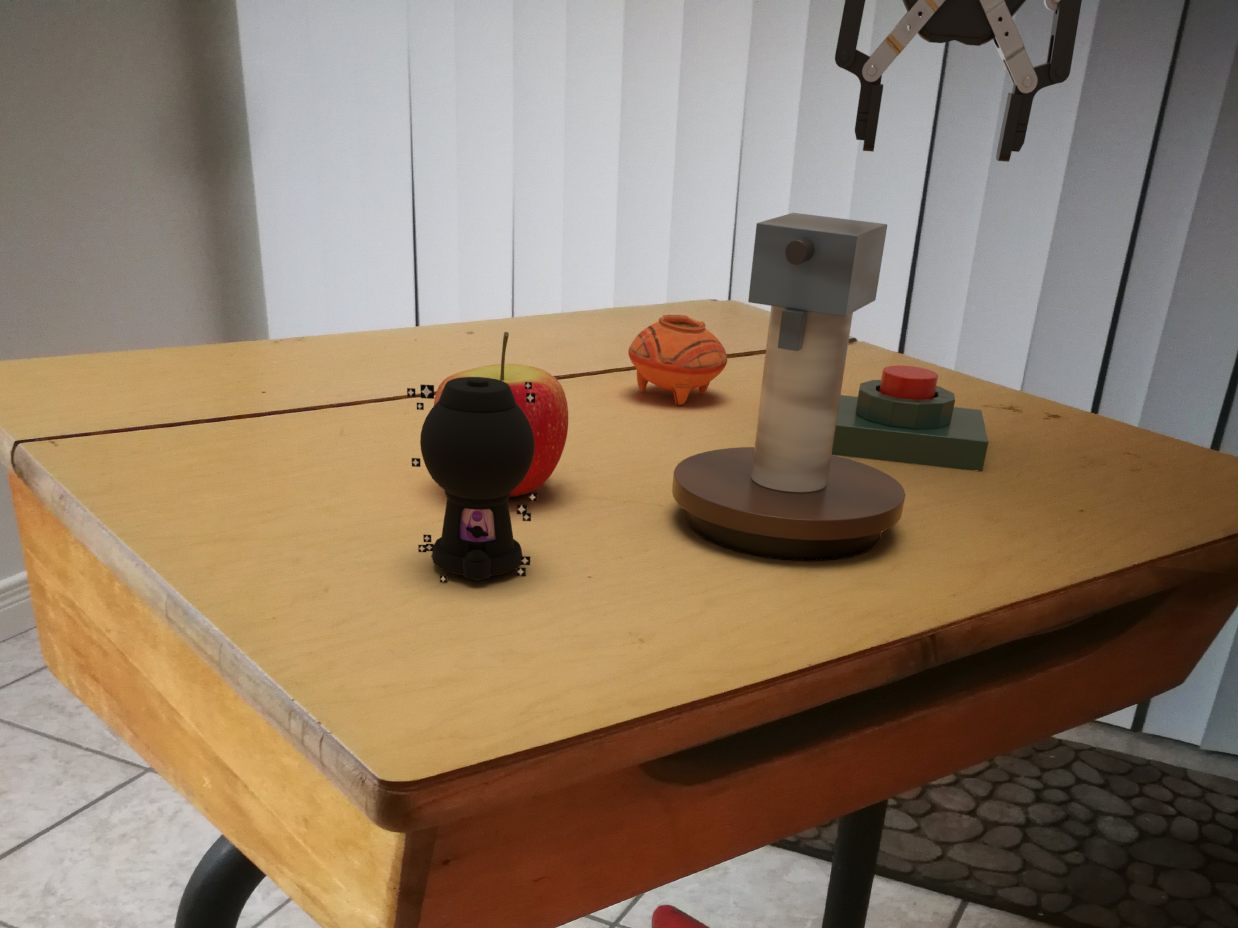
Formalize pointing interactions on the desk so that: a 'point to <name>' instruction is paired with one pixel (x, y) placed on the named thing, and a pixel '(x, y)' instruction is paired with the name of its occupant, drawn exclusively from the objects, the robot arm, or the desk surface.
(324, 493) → the desk surface
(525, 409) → the apple
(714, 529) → the base
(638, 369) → the pot
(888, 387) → the button
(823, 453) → the grey-topped column stand
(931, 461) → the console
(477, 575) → the gumball machine
